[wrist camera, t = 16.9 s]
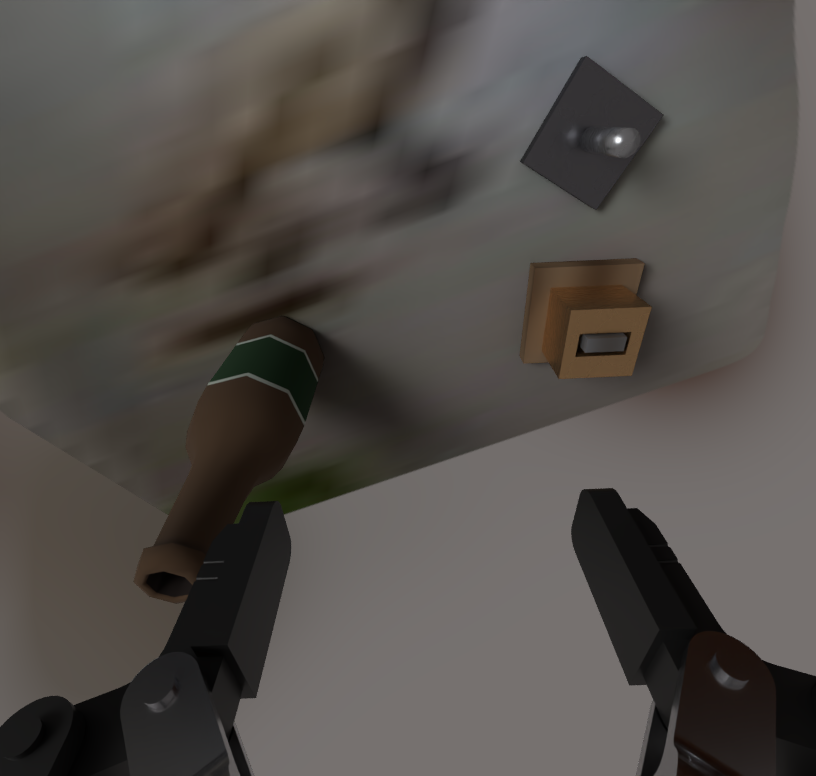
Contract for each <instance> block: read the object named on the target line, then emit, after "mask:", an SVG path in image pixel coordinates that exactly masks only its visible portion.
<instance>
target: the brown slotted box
mask: <svg viewBox="0 0 816 776" xmlns="http://www.w3.org/2000/svg"><path fill="white" fill-rule="evenodd" d="M651 308H652V307H651V306H650V305H649V304H647V303H646V302H645V301H643V300H642V299H640V298H639V297H638V296H636V295H635V294H634V293H632V292H631V291H630V290H628V289H627V288H626V287H624V286H623V285H602V286H579V287H557V288H551V290H550V297H549V303H548V310H547V317H546V324H545V330H544V337H543V344H542V350H541V351H542V352H543V354H544V356H545V357H546V359H547V361H548V362H549V364H550V365H551V367H552V369H553V370H554V372H555V374H556V375H557V377H558V378H559V379H568V378H591V377H614V376H632V373H633V370H634V366H635V363H636V359H637V356H638V353H639V349H640V346H641V342H642V339H643V335H644V332H645V328H646V325H647V322H648V318H649V315H650V311H651ZM619 332H622V333H623V334H625V335H626V336H627V340H626V344H625V348H624V351H614V352H591V353H585V352H584V351H583V350H582V348H581V347H580V346H579V345H578V341H579V336H580V334H596V333H619Z"/></svg>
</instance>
